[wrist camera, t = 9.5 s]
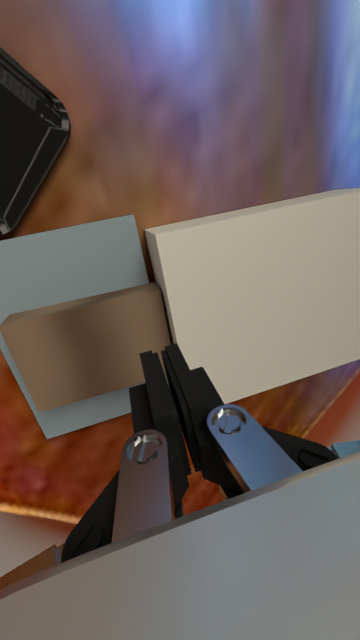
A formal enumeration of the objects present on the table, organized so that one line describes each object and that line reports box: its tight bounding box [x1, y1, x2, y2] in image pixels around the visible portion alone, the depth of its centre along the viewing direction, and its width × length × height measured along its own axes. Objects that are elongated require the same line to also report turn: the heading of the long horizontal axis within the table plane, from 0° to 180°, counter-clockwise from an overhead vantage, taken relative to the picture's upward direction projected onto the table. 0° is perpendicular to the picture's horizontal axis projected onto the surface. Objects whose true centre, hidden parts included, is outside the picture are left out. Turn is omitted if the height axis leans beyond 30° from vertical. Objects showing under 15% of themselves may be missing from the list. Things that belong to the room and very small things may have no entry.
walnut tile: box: [0, 282, 171, 412], centre depth 18 cm, size 9×6×2 cm, turn 99°
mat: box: [0, 214, 170, 439], centre depth 19 cm, size 10×14×1 cm
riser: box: [144, 188, 360, 404], centre depth 19 cm, size 14×12×4 cm
